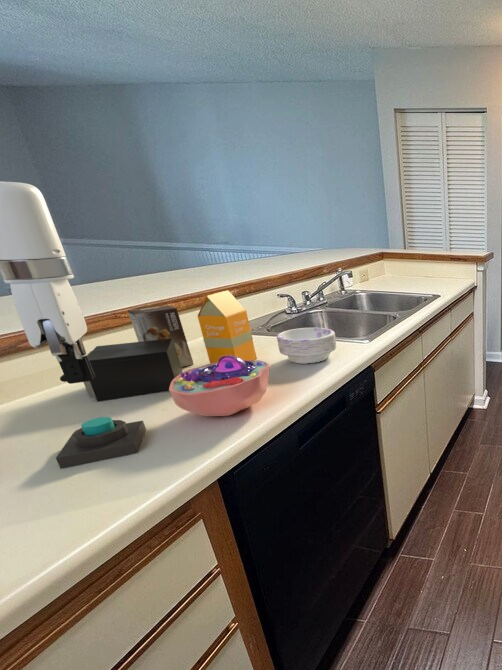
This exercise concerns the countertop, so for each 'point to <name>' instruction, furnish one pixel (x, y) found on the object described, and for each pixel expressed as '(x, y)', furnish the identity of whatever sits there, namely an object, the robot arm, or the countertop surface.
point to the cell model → (221, 386)
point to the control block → (102, 444)
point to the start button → (97, 425)
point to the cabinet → (133, 368)
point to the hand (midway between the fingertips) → (82, 380)
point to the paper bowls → (307, 344)
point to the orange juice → (225, 327)
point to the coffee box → (161, 328)
